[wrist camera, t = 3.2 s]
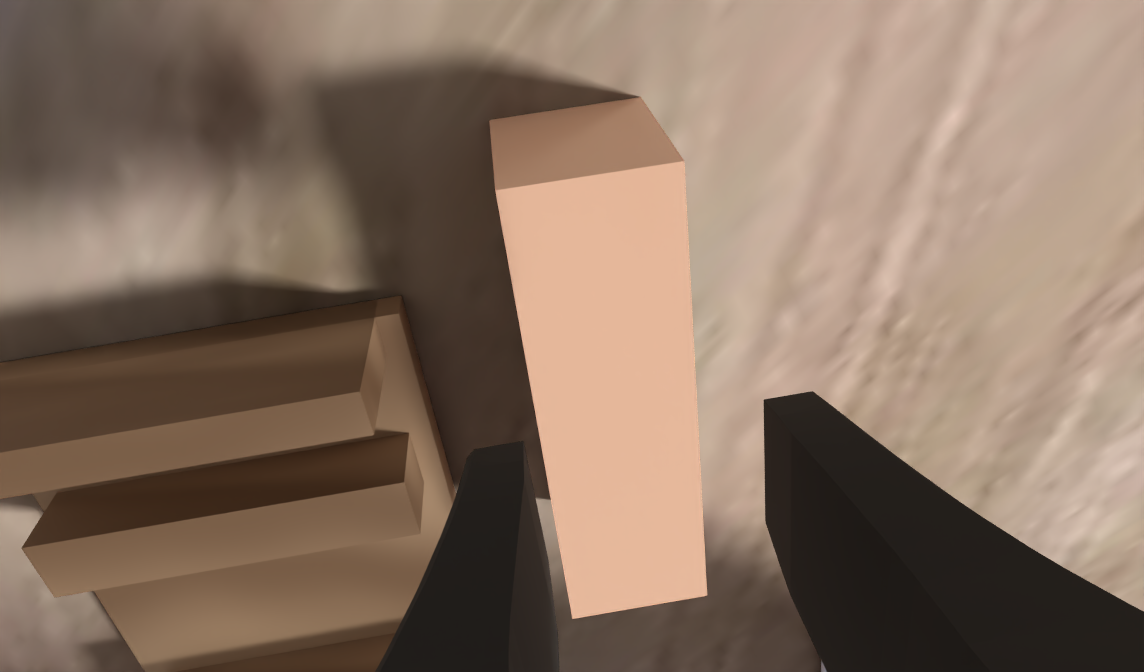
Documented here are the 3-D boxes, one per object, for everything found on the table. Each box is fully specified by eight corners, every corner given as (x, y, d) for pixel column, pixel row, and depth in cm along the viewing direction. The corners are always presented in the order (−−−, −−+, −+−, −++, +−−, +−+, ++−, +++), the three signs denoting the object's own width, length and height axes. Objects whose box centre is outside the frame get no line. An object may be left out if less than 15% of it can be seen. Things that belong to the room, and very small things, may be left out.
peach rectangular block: (669, 476, 22) (706, 595, 18) (555, 495, 22) (572, 618, 18) (639, 94, 16) (684, 160, 13) (489, 117, 16) (495, 190, 13)
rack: (511, 696, 25) (517, 811, 22) (216, 748, 25) (182, 872, 22) (401, 295, 18) (387, 387, 15) (-17, 365, 18) (-116, 472, 15)
